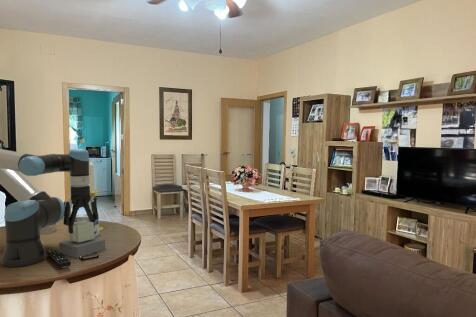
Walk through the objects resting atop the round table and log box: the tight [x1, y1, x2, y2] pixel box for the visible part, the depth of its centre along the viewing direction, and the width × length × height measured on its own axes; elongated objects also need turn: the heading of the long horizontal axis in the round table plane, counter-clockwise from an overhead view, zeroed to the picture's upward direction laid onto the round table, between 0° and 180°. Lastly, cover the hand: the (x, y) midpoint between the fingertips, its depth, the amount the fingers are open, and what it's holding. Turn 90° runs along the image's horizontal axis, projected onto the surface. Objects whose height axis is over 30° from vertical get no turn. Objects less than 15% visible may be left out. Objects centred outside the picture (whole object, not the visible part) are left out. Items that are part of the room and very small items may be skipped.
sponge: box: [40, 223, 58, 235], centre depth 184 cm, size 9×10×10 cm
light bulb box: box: [74, 213, 100, 237], centre depth 175 cm, size 11×7×11 cm, turn 84°
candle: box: [89, 160, 104, 232], centre depth 186 cm, size 10×10×38 cm
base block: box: [58, 236, 106, 260], centre depth 152 cm, size 13×13×5 cm
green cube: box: [69, 220, 94, 243], centre depth 151 cm, size 7×7×7 cm
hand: (82, 238), depth 152 cm, fingers closed on green cube, 7 cm apart
